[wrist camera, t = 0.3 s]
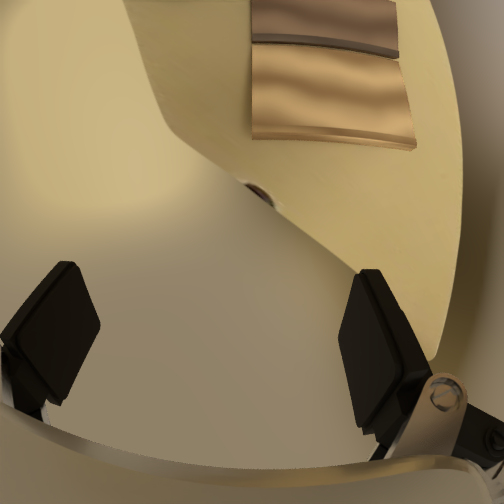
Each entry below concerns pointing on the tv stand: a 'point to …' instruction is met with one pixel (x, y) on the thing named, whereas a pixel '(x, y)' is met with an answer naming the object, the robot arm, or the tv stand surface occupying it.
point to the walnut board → (328, 24)
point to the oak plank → (329, 97)
